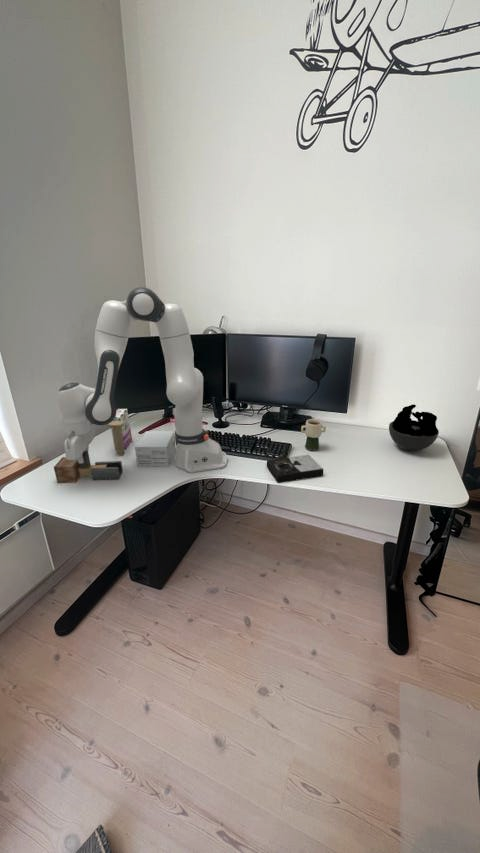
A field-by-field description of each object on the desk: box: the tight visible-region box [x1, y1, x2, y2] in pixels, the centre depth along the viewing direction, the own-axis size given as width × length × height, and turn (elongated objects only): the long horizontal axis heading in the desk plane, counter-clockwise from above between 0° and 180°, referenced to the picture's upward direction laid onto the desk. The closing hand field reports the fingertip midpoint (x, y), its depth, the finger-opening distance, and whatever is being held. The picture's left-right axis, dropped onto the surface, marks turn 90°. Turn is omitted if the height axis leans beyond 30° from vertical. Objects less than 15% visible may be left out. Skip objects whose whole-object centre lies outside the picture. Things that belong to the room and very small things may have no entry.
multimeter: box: [266, 454, 324, 484], centre depth 141 cm, size 13×19×5 cm
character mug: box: [300, 418, 327, 451], centre depth 158 cm, size 11×7×13 cm, turn 90°
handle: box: [107, 421, 125, 456], centre depth 154 cm, size 5×6×15 cm
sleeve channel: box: [91, 460, 124, 482], centre depth 138 cm, size 10×6×5 cm, turn 93°
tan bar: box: [76, 450, 108, 477], centre depth 136 cm, size 16×3×9 cm, turn 93°
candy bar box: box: [110, 408, 133, 451], centre depth 162 cm, size 11×5×16 cm, turn 179°
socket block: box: [53, 456, 82, 484], centre depth 137 cm, size 7×8×7 cm
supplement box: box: [134, 430, 176, 468], centre depth 152 cm, size 17×13×9 cm
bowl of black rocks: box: [388, 404, 440, 451], centre depth 156 cm, size 20×20×19 cm
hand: (83, 459), depth 136 cm, fingers closed on tan bar, 3 cm apart
